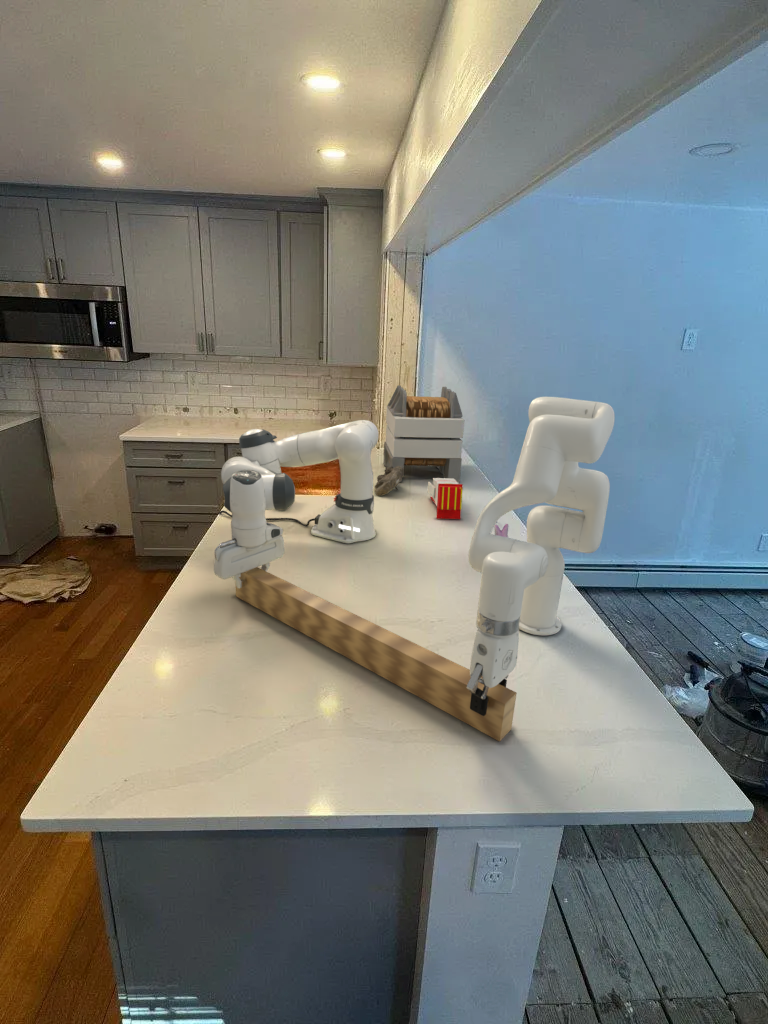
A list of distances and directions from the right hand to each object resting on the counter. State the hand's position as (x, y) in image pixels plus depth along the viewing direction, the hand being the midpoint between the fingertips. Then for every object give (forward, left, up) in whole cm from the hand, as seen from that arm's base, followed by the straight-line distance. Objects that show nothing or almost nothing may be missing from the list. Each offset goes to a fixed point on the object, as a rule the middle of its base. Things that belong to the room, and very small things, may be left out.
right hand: (487, 702), depth 107 cm
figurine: (-71, +4, -5) cm, 72 cm away
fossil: (-143, -43, -5) cm, 149 cm away
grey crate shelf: (-173, -33, -5) cm, 176 cm away
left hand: (-36, -62, 0) cm, 71 cm away
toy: (-126, -17, -5) cm, 127 cm away
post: (-18, -31, -5) cm, 36 cm away
